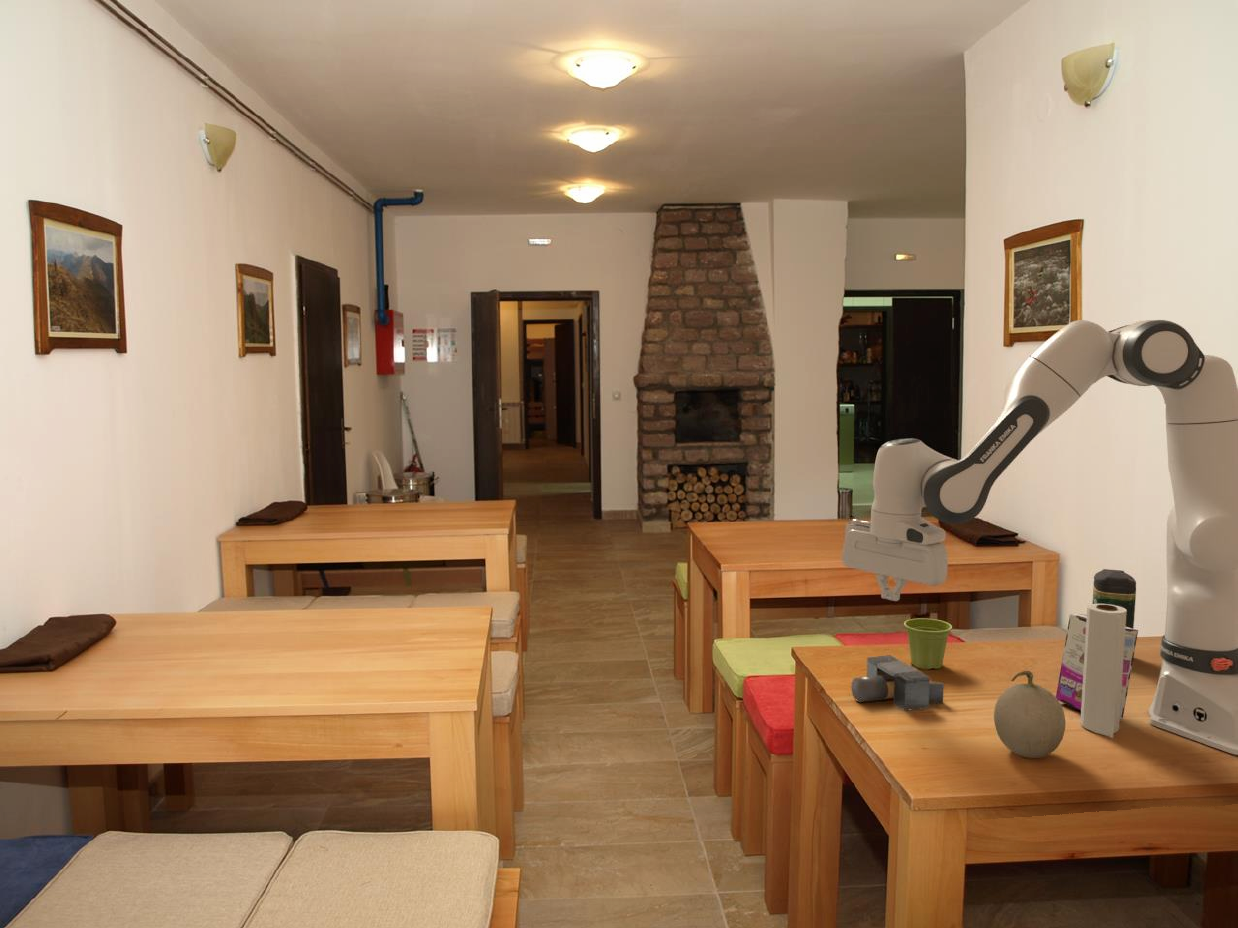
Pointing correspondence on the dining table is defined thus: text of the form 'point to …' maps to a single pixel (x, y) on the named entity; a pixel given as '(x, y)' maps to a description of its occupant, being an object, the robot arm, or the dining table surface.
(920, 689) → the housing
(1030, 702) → the fruit
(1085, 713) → the paper towel roll
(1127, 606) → the coffee jar
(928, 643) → the plant pot
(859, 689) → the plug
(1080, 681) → the candy bar box
